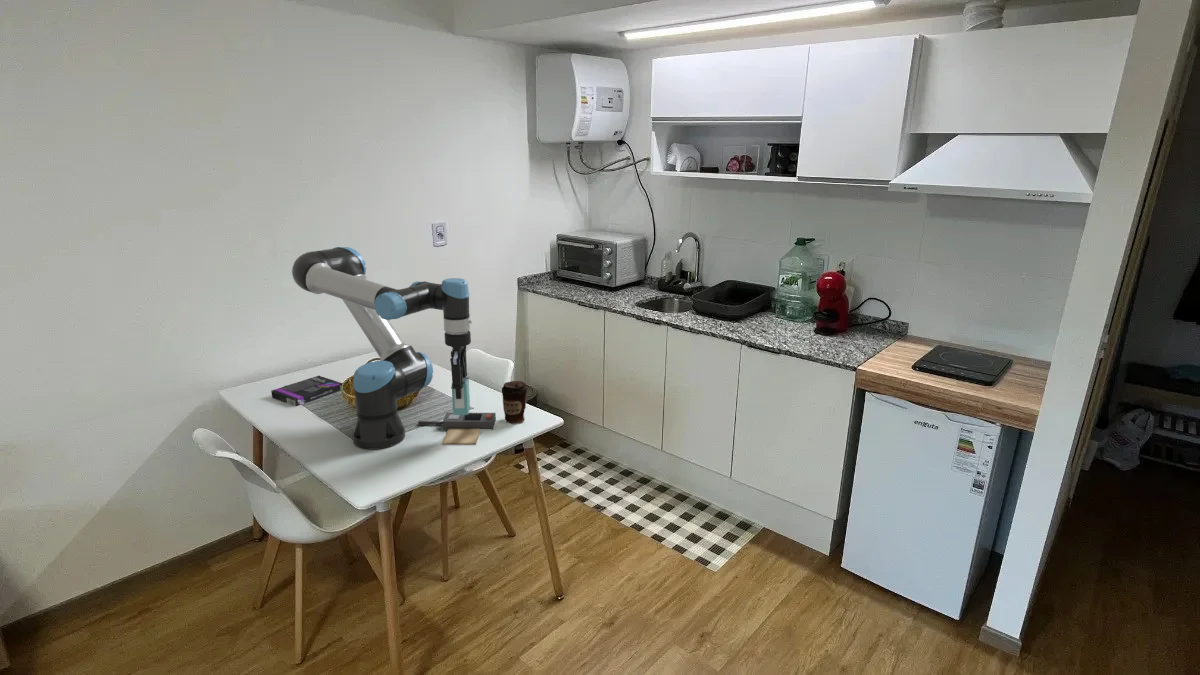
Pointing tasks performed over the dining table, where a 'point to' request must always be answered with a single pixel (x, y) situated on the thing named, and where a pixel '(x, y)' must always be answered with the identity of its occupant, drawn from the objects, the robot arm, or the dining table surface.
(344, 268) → the robot arm
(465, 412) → the block
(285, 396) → the box
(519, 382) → the coffee cup
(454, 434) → the pad
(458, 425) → the strip
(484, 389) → the dining table surface
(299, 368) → the dining table surface
